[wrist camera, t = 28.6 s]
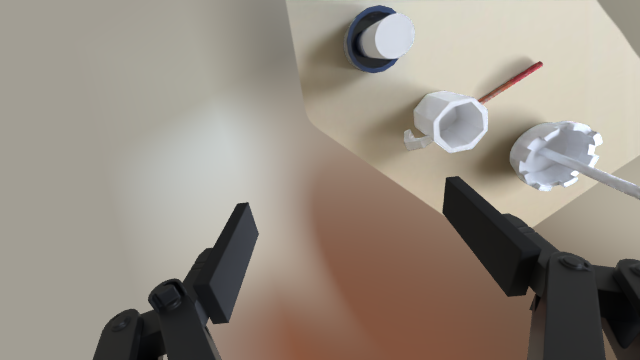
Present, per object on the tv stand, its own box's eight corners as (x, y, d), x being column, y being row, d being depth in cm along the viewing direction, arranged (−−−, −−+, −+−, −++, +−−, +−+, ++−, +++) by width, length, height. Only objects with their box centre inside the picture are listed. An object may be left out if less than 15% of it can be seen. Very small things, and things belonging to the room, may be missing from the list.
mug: (447, 80, 43) (477, 85, 34) (465, 120, 46) (498, 134, 37) (386, 120, 47) (400, 133, 38) (407, 155, 49) (424, 175, 41)
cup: (338, 64, 42) (340, 65, 37) (351, 6, 38) (356, -2, 33) (384, 75, 43) (394, 78, 38) (401, 19, 39) (414, 14, 34)
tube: (387, 33, 39) (422, 23, 26) (375, 61, 41) (402, 64, 28) (363, 22, 39) (386, 6, 25) (352, 51, 40) (368, 49, 27)
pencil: (538, 60, 42) (542, 60, 41) (540, 65, 42) (544, 66, 41) (435, 127, 47) (437, 128, 46) (437, 131, 47) (439, 132, 46)
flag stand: (503, 185, 53) (690, 318, 26) (505, 128, 47) (747, 224, 21) (568, 169, 51) (840, 293, 24) (579, 108, 46) (948, 183, 19)
